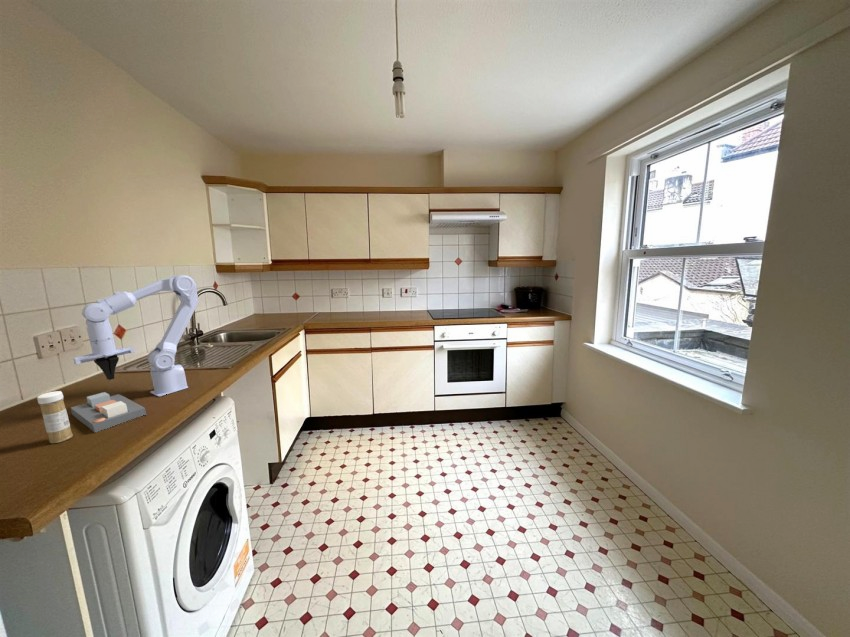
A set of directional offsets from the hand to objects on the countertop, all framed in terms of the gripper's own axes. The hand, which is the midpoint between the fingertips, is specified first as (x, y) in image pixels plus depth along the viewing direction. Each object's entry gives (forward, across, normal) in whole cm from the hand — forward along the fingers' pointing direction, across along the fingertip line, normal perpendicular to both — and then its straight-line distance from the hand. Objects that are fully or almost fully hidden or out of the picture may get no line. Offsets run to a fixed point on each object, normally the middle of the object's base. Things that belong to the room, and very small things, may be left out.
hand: (110, 378), depth 112 cm
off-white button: (+8, -4, -16) cm, 18 cm away
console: (+9, -4, -8) cm, 13 cm away
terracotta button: (+9, -4, -8) cm, 13 cm away
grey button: (+8, -4, 0) cm, 9 cm away
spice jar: (+10, -16, -16) cm, 25 cm away
